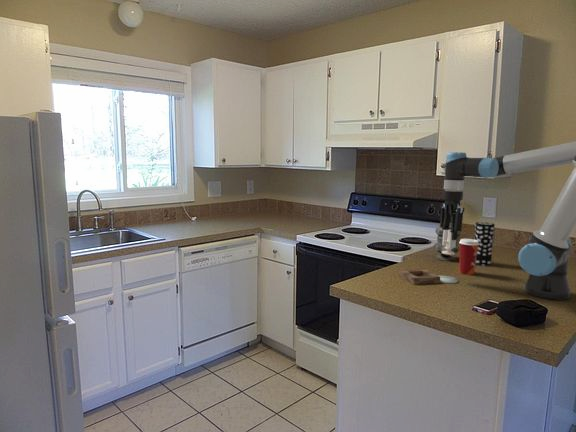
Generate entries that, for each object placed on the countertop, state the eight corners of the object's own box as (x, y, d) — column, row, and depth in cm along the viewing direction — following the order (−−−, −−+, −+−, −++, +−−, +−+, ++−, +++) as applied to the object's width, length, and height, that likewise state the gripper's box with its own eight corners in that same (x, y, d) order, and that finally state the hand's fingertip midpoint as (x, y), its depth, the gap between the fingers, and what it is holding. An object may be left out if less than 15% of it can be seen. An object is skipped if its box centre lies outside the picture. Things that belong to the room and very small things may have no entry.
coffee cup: (478, 276, 182) (481, 242, 180) (458, 274, 184) (461, 241, 182) (474, 270, 190) (476, 238, 188) (455, 269, 192) (457, 237, 190)
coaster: (462, 282, 172) (462, 281, 172) (443, 283, 170) (443, 282, 170) (449, 276, 181) (449, 275, 181) (430, 277, 179) (431, 276, 179)
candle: (454, 252, 176) (456, 228, 174) (455, 255, 171) (457, 230, 169) (441, 251, 177) (442, 227, 175) (442, 254, 172) (444, 229, 170)
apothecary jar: (460, 262, 205) (463, 226, 203) (435, 260, 207) (438, 225, 205) (455, 256, 217) (457, 222, 215) (431, 255, 219) (433, 221, 216)
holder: (439, 282, 172) (440, 276, 171) (413, 284, 169) (413, 278, 169) (424, 274, 183) (424, 269, 183) (399, 275, 181) (399, 270, 180)
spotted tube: (474, 265, 201) (477, 224, 198) (470, 260, 208) (474, 221, 206) (492, 266, 199) (496, 225, 196) (488, 262, 207) (492, 222, 204)
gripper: (474, 192, 163) (469, 250, 166) (449, 188, 179) (445, 241, 182) (457, 192, 161) (452, 251, 164) (433, 188, 177) (429, 242, 181)
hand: (448, 246), depth 173 cm, fingers closed on candle, 4 cm apart
